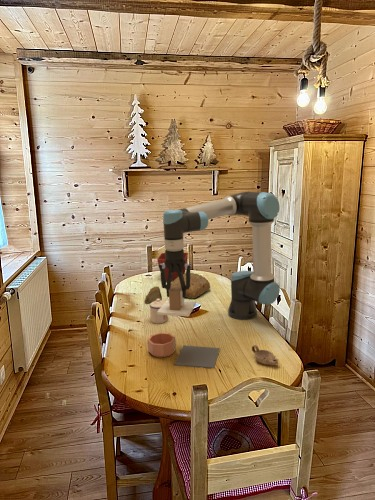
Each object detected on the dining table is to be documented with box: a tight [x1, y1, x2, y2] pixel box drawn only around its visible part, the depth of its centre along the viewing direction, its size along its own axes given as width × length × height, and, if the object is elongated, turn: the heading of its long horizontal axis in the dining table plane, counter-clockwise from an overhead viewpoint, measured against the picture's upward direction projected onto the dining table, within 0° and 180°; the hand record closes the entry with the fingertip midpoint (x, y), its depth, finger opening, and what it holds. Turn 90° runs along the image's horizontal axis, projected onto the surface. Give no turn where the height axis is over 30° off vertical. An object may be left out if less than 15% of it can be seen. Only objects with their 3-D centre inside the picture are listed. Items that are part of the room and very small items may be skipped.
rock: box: [144, 285, 163, 304], centre depth 218 cm, size 11×9×10 cm
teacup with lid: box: [149, 299, 168, 324], centre depth 192 cm, size 12×9×12 cm
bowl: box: [147, 332, 177, 358], centre depth 159 cm, size 11×11×6 cm
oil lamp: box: [251, 344, 279, 366], centre depth 149 cm, size 13×8×5 cm, turn 32°
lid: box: [157, 286, 197, 317], centre depth 152 cm, size 13×13×9 cm
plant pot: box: [157, 252, 189, 282], centre depth 259 cm, size 19×19×17 cm
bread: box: [170, 272, 211, 299], centre depth 232 cm, size 24×21×12 cm
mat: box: [174, 344, 220, 369], centre depth 154 cm, size 16×16×1 cm
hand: (176, 304), depth 152 cm, fingers closed on lid, 4 cm apart
